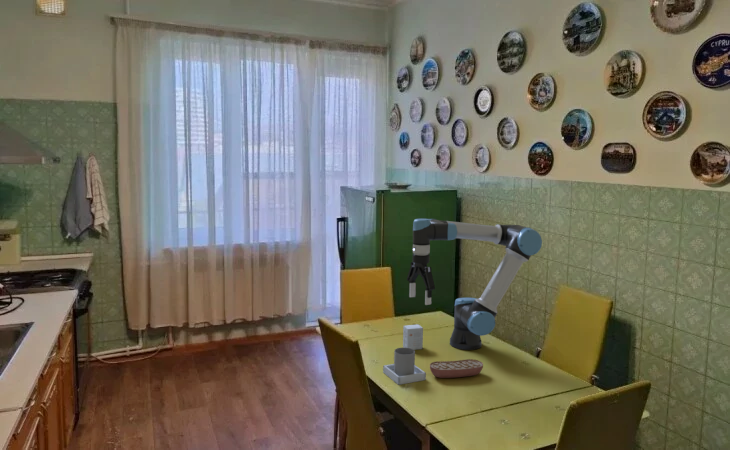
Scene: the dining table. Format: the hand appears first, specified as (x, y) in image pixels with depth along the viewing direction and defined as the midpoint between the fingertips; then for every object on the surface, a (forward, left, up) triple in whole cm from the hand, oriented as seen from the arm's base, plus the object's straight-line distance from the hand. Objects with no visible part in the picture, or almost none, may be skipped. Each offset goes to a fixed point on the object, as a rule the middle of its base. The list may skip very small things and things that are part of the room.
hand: (420, 300), depth 245 cm
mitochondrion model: (-5, +24, -27) cm, 36 cm away
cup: (+16, +16, -26) cm, 34 cm away
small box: (-4, -12, -27) cm, 30 cm away
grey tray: (+16, +16, -27) cm, 35 cm away
